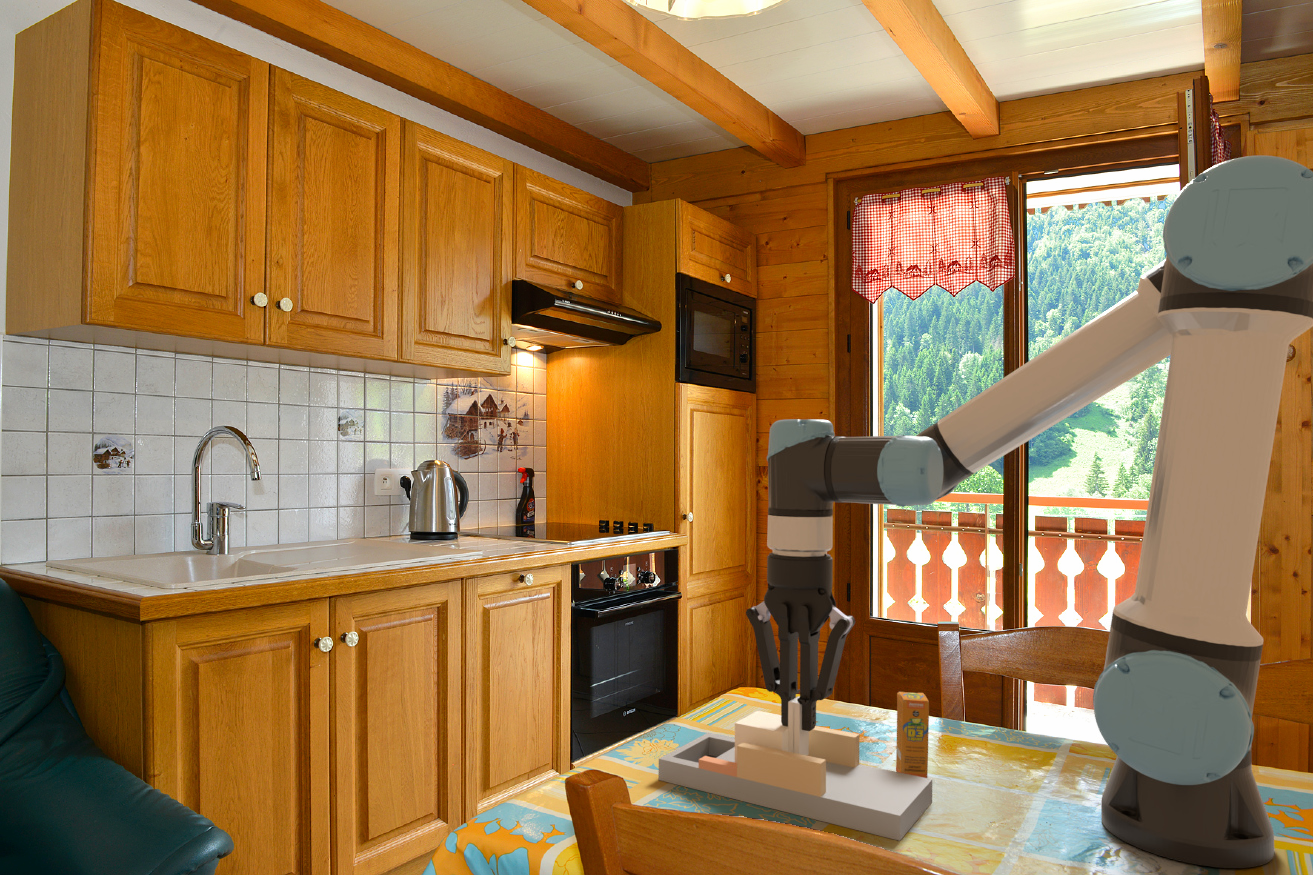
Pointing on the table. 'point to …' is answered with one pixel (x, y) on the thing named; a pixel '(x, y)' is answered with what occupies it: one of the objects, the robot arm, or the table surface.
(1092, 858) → the table surface
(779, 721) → the block
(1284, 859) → the table surface
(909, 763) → the supplement box
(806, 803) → the tray
